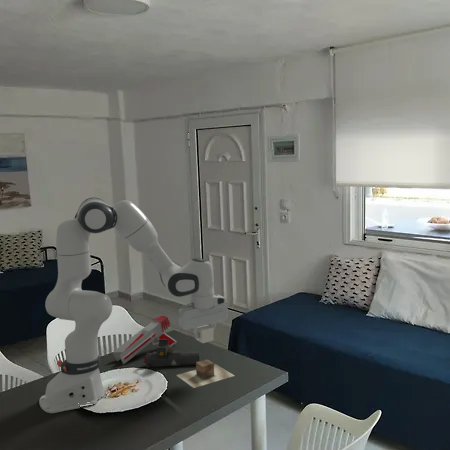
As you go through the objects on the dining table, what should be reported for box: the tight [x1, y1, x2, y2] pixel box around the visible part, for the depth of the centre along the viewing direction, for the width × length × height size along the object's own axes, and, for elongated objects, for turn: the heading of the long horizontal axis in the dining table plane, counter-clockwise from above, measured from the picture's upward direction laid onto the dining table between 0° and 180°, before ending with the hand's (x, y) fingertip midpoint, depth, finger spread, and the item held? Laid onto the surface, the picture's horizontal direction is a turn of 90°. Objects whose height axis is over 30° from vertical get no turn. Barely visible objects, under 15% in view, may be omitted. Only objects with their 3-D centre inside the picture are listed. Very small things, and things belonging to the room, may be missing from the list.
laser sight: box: [143, 339, 201, 368], centre depth 210 cm, size 10×22×10 cm, turn 91°
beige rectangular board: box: [176, 363, 235, 389], centre depth 198 cm, size 18×14×1 cm
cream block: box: [195, 324, 215, 344], centre depth 196 cm, size 5×5×5 cm
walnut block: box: [195, 359, 215, 379], centre depth 198 cm, size 5×5×5 cm
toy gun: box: [112, 315, 178, 365], centre depth 225 cm, size 7×28×15 cm, turn 133°
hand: (204, 335), depth 196 cm, fingers closed on cream block, 5 cm apart
